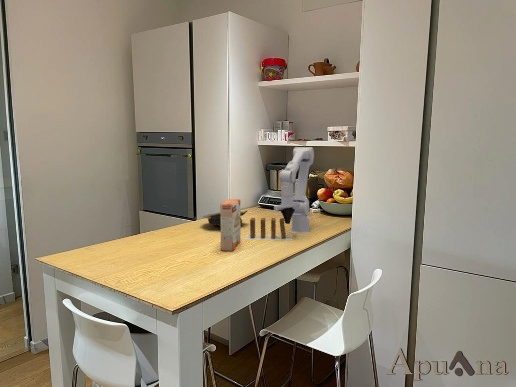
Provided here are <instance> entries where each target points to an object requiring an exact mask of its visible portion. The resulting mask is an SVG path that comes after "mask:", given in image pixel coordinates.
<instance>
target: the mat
mask: <svg viewBox="0 0 516 387" xmlns="http://www.w3.org/2000/svg"><path fill="white" fill-rule="evenodd" d="M243 240H249V241H293V235H292V234H291V235H289V234H288V235H287V234H286V238H285V239H282V237H281V234H276V237H275V239H271V234H265V239H261V234H255V238H254V239H253V238H250V234H245V236H244V237H243Z"/></svg>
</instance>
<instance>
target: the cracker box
mask: <svg viewBox="0 0 516 387" xmlns="http://www.w3.org/2000/svg"><path fill="white" fill-rule="evenodd" d="M219 205H220V207H219V208H220V209H219V211H220V212H219V213H220V215H221V226H220V251H224V252H233V251H234V250H235V249H236V248H237V247H238V246H239V244H240V243H241V226H240V217H241V216H240V211H241V199H237V198H236V199H235V198H229V199H227V200H225V201H224V202H222V203H220V204H219Z"/></svg>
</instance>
